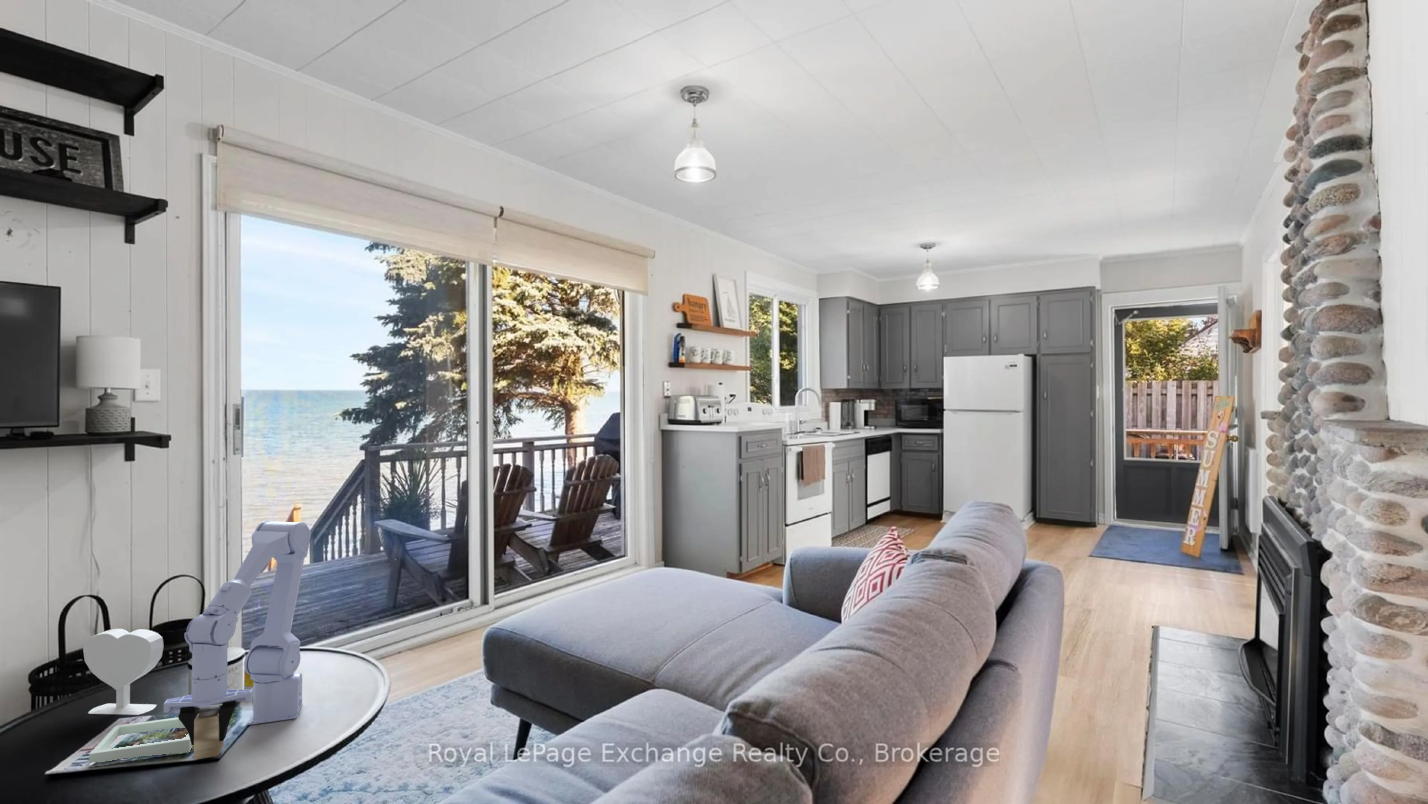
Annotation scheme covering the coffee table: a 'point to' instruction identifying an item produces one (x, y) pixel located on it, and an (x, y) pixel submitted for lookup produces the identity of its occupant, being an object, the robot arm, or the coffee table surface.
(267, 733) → the coffee table surface
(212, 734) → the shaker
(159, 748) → the tray
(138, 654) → the heart sculpture
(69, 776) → the coffee table surface
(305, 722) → the coffee table surface
